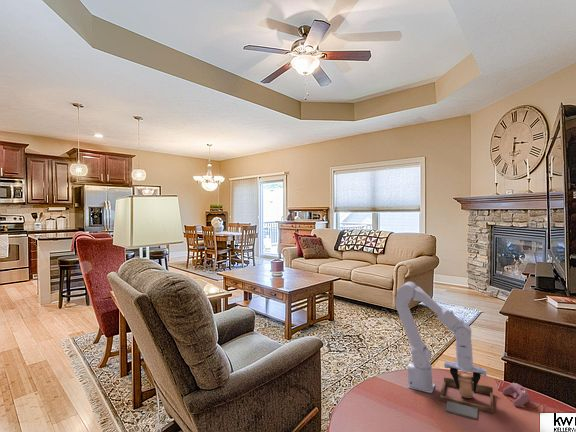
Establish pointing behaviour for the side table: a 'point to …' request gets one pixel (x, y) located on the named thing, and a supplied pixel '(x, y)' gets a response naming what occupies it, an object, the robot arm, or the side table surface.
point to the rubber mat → (462, 410)
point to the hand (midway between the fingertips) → (466, 389)
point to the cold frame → (479, 388)
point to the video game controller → (517, 394)
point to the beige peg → (465, 385)
